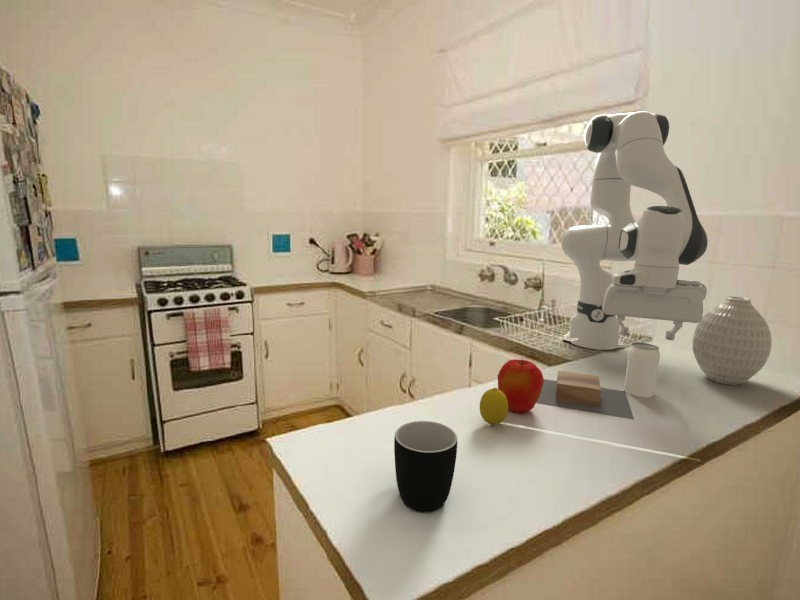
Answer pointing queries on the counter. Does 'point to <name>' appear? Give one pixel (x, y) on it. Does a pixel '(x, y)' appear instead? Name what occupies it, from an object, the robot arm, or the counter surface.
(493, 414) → the lemon
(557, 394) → the plinth
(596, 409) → the mat
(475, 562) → the counter surface
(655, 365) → the can
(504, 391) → the apple
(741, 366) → the vase
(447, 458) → the mug
